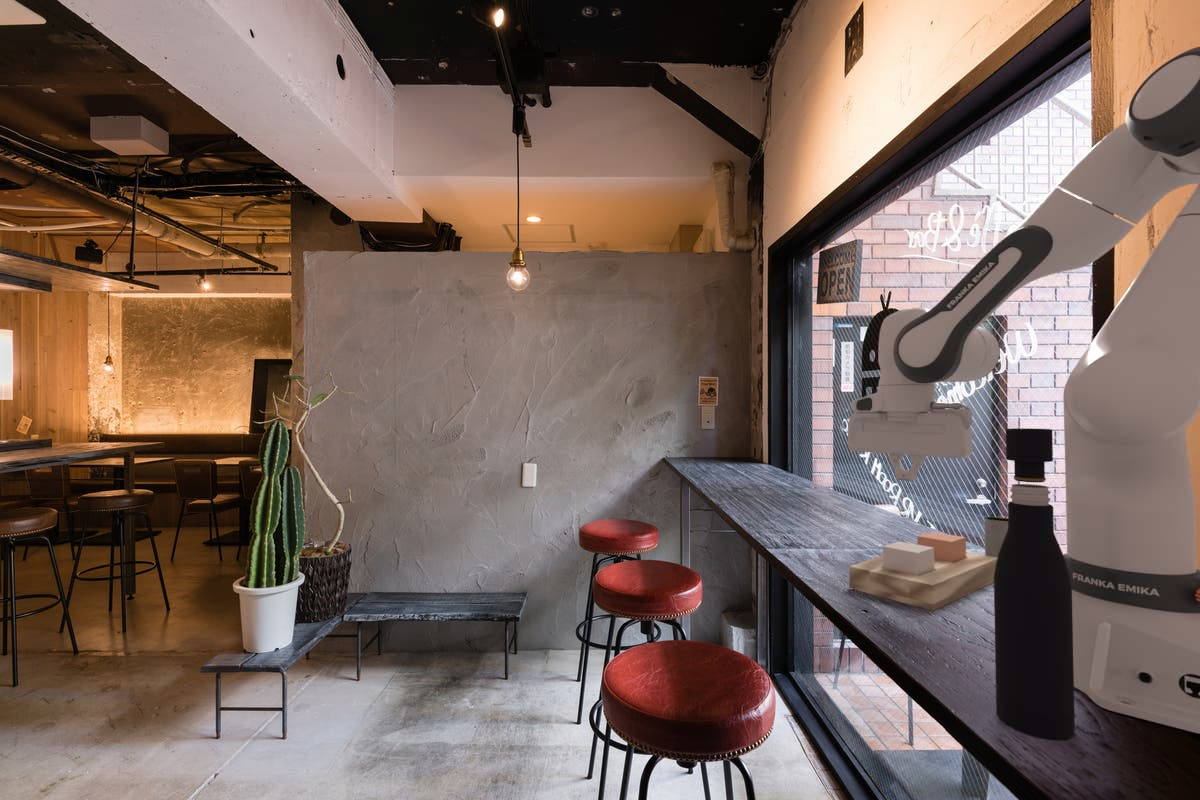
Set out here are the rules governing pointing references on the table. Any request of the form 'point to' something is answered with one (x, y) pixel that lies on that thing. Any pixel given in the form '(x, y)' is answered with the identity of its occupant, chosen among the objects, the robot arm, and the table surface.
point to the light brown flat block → (924, 580)
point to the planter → (994, 534)
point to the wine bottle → (1033, 602)
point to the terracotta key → (944, 546)
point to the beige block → (908, 558)
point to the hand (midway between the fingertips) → (906, 480)
